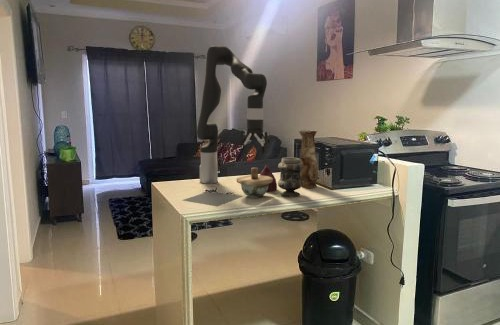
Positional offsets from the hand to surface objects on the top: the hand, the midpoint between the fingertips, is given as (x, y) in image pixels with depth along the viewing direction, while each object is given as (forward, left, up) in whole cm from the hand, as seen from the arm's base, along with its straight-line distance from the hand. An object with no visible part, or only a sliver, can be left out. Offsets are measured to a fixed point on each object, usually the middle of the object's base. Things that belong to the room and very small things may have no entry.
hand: (255, 153), depth 178 cm
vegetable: (-3, +17, -21) cm, 27 cm away
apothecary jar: (+12, +13, -21) cm, 28 cm away
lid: (0, 0, -13) cm, 13 cm away
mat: (-15, -13, -21) cm, 29 cm away
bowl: (0, 0, -21) cm, 21 cm away
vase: (+12, +35, -21) cm, 43 cm away
